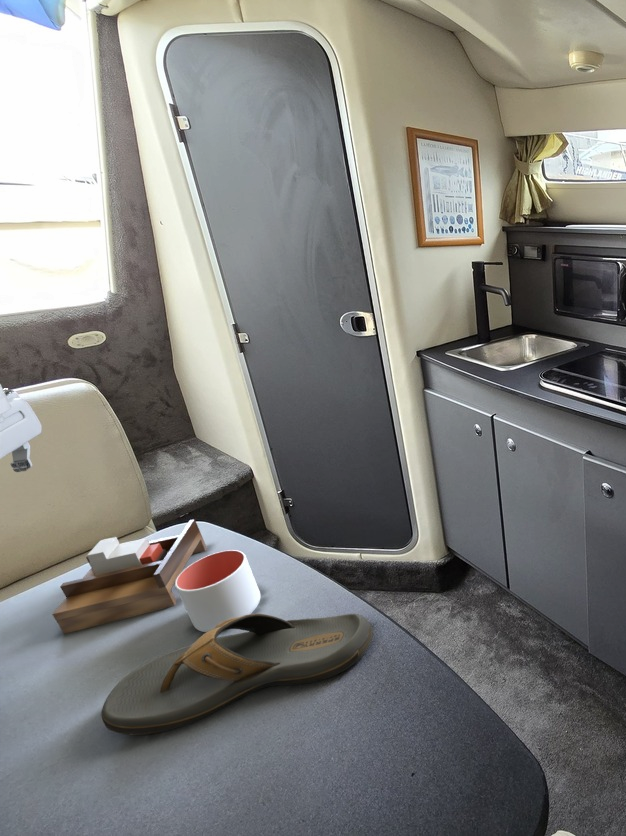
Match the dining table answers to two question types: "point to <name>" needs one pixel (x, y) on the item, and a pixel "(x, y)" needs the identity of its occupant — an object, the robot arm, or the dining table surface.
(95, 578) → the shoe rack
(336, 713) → the dining table surface
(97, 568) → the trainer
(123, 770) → the dining table surface
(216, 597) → the cup
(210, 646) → the sandal
